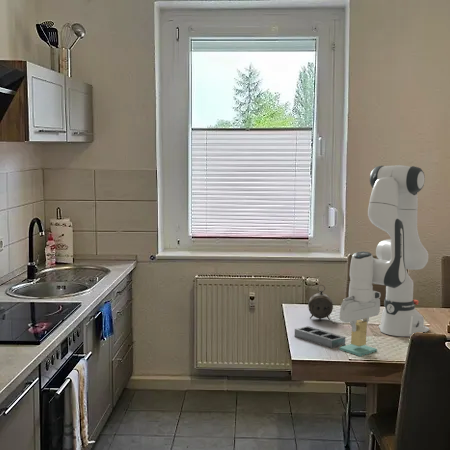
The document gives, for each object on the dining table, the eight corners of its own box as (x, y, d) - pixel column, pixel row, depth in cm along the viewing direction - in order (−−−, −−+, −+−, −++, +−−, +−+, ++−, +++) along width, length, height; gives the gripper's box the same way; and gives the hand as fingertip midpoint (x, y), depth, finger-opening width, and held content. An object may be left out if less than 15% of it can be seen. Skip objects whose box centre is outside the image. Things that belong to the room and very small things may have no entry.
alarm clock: (331, 319, 293) (333, 284, 291) (332, 322, 288) (334, 286, 286) (307, 318, 294) (308, 283, 292) (308, 321, 289) (309, 285, 287)
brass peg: (357, 342, 250) (358, 319, 249) (365, 344, 247) (366, 321, 246) (351, 343, 247) (351, 321, 246) (359, 346, 244) (360, 323, 243)
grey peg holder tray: (307, 333, 270) (308, 326, 270) (345, 344, 255) (345, 337, 254) (294, 336, 265) (294, 329, 264) (331, 348, 250) (332, 340, 249)
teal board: (356, 345, 254) (356, 342, 254) (376, 351, 247) (376, 348, 247) (339, 349, 248) (339, 347, 248) (360, 356, 240) (360, 353, 240)
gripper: (349, 300, 236) (348, 336, 237) (383, 292, 249) (381, 327, 250) (336, 296, 241) (334, 332, 242) (370, 289, 254) (368, 323, 255)
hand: (359, 330), depth 246 cm, fingers closed on brass peg, 4 cm apart
